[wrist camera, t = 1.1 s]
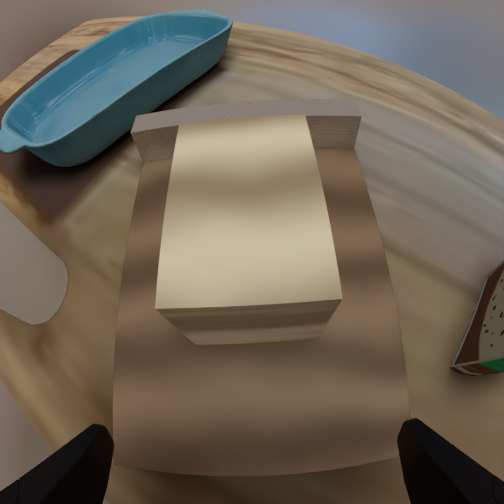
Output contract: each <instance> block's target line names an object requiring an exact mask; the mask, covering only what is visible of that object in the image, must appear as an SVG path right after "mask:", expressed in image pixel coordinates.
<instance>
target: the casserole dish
mask: <svg viewBox="0 0 504 504" xmlns="http://www.w3.org/2000/svg"><path fill="white" fill-rule="evenodd" d="M232 25H233V20H232V19H231V18H229V17H227V16H223V15H219V14H217V13H216V12H215V11H212V10H203V9H188V10H180V11H174V12H165V13H158V14H153V15H150V16H146V17H143V18H140V19H138V20H135V21H133V22H130V23H128V24H126V25H124V26H122V27H120V28H118V29H116V30H114V31H112V32H111V33H109V34H107V35H105V36H104V37H102V38H100V39H98V40H97V41H95V42H93V43H92V44H90V45H89V46H87V47H85V48H84V49H82V50H81V51H79V52H78V53H76V54H75V55H73V56H72V57H70V58H69V59H67V60H66V61H64V62H63V63H61V64H60V65H59V66H57V67H56V68H54V69H53V70H52V71H50V72H49V73H48V74H46V75H45V76H44V77H42V78H41V79H40V80H39V81H37V82H36V83H35V84H34V85H32V86H31V87H30V88H29V89H28V90H26V91H25V92H24V93H23V94H22V95H21V96H20V97H19V98H18V99H17V100H16V101H15V102H14V103H13V104H12V105H11V106H10V107H9V109H8V110H7V111H6V113H5V115H4V117H3V119H2V128H1V131H0V150H1V151H2V152H4V153H7V154H13V153H16V152H18V151H20V150H22V149H24V148H26V149H28V150H29V151H31V152H32V153H33V154H35V155H36V156H38V157H39V158H41V159H43V160H44V161H46V162H48V163H50V164H53V165H55V166H61V167H70V166H74V165H80V164H83V163H85V162H87V161H89V160H91V159H92V158H94V157H95V156H97V155H98V154H99V153H101V152H102V151H103V150H105V149H106V148H107V147H109V146H110V145H111V144H112V143H114V142H115V141H116V140H117V139H118V138H120V137H121V136H122V135H123V134H125V133H126V132H127V131H129V130H130V129H131V128H132V127H133V124H134V121H135V118H136V116H138V115H143V114H149V113H151V112H152V111H153V110H155V109H156V108H157V107H159V106H160V105H161V104H162V103H164V102H165V101H167V100H168V99H169V98H171V97H172V96H173V95H175V94H176V93H178V92H179V91H180V90H182V89H183V88H184V87H186V86H187V85H189V84H190V83H191V82H193V81H194V80H196V79H197V78H199V77H200V76H201V75H203V74H204V73H205V72H207V71H208V70H209V69H210V68H212V67H213V66H214V65H215V64H216V63H217V62H218V61H219V60H220V59H221V57H222V55H223V53H224V51H225V48H226V45H227V42H228V39H229V35H230V31H231V28H232Z"/></svg>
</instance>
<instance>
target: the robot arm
mask: <svg viewBox="0 0 504 504" xmlns="http://www.w3.org/2000/svg"><path fill="white" fill-rule="evenodd" d="M397 445H398V450H399V455H400V461H401V466H402V471H403V477H404V482H405V485H406V489H407V492H408V495H409V499H410V502H411V504H504V481H502V480H501V479H499V478H498V477H496V476H495V475H493V474H492V473H491V472H489V471H488V470H487V469H485V468H484V467H482V466H481V465H480V464H478V463H477V462H475V461H474V460H473V459H471V458H470V457H469V456H467V455H466V454H464V453H463V452H462V451H460V450H459V449H458V448H456V447H455V446H454V445H452V444H451V443H450V442H448V441H447V440H446V439H444V438H443V437H442V436H440V435H439V434H438V433H436V432H435V431H434V430H432V429H431V428H430V427H428V426H427V425H426V424H424V423H423V422H422V421H420V420H419V419H417V418H414V419H409V420H406V421H404V422H403V424H402V427H401V429H400V432H399V434H398V437H397ZM113 451H114V441H113V439H112V437H111V435H110V433H109V431H108V430H107V428H106V427H105V426H104V425H99V424H92V425H90V426H89V427H88V428H86V429H85V430H84V431H83V432H81V433H80V434H79V435H77V436H76V437H75V438H73V439H72V440H71V441H69V442H68V443H67V444H65V445H64V446H63V447H61V448H60V449H59V450H57V451H56V452H55V453H53V454H52V455H51V456H49V457H48V458H47V459H45V460H44V461H43V462H41V463H40V464H38V465H37V466H36V467H34V468H33V469H32V470H30V471H29V472H27V473H26V474H25V475H23V476H22V477H20V478H19V480H16V481H15V482H13V483H12V484H10V485H9V486H7V487H6V488H4V489H3V490H1V491H0V504H102V503H103V499H104V496H105V493H106V489H107V485H108V480H109V474H110V468H111V462H112V456H113Z"/></svg>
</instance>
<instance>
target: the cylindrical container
mask: <svg viewBox="0 0 504 504" xmlns="http://www.w3.org/2000/svg"><path fill="white" fill-rule="evenodd" d="M67 286H68V273H67V269H66V266H65V264H64V262H63V261H62V260H61V259H60V258H59V257H58V256H57V255H56V254H55V253H53V252H52V251H51V250H50V249H49V248H48V247H47V246H46V245H45V244H44V243H42V242H41V241H40V240H39V239H38V238H37V237H36V236H35V235H34V234H33V233H32V232H31V231H30V230H29V229H28V228H27V227H26V226H25V225H24V224H23V223H22V222H21V221H19V220H18V219H17V218H16V217H15V216H14V215H13V213H12V212H11V211H10V210H9V209H8V208H7V207H6V206H5V205H4V204H3V203H2V202H1V201H0V309H1V310H3V311H5V312H7V313H9V314H11V315H12V316H14V317H16V318H18V319H20V320H22V321H24V322H26V323H28V324H32V325H37V324H42V323H44V322H46V321H47V320H49V319H50V318H51V317H52V316H53V315H54V314H55V313H56V312H57V311H58V309H59V308H60V306H61V304H62V302H63V300H64V298H65V295H66V292H67Z"/></svg>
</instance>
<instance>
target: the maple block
mask: <svg viewBox="0 0 504 504" xmlns="http://www.w3.org/2000/svg"><path fill="white" fill-rule="evenodd" d="M342 299H343V298H342V291H341V284H340V278H339V272H338V266H337V260H336V254H335V248H334V243H333V237H332V232H331V226H330V221H329V216H328V211H327V206H326V201H325V196H324V192H323V187H322V182H321V178H320V173H319V169H318V165H317V160H316V156H315V152H314V148H313V144H312V140H311V136H310V132H309V128H308V124H307V120H306V116H305V114H304V115H271V116H253V117H239V118H227V119H216V120H207V121H198V122H190V123H182V124H179V128H178V133H177V138H176V144H175V149H174V155H173V161H172V167H171V173H170V179H169V186H168V192H167V199H166V206H165V214H164V221H163V229H162V238H161V247H160V256H159V266H158V277H157V288H156V301H155V309H156V310H157V311H158V312H159V313H160V314H161V315H162V316H164V317H165V318H166V319H167V320H168V321H169V322H170V323H171V324H172V325H174V326H175V327H176V328H177V329H178V330H179V331H180V332H181V333H183V334H184V335H185V336H186V337H187V338H188V339H189V340H191V341H192V342H193V343H194V344H195V345H214V344H245V343H265V342H281V341H295V340H307V339H317V338H318V336H319V335H320V333H321V332H322V330H323V329H324V327H325V326H326V324H327V323H328V321H329V320H330V318H331V317H332V315H333V313H334V312H335V310H336V309H337V307H338V306H339V304H340V302H341V301H342Z"/></svg>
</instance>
